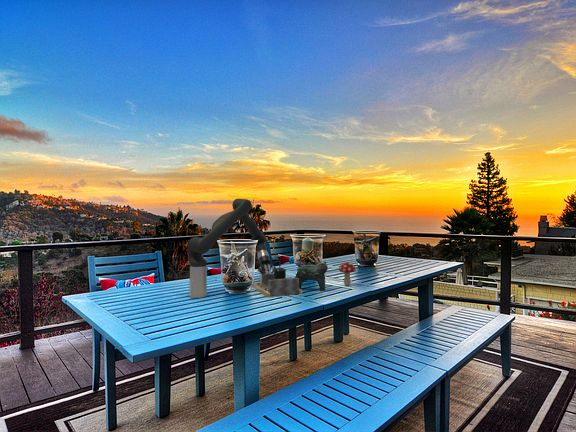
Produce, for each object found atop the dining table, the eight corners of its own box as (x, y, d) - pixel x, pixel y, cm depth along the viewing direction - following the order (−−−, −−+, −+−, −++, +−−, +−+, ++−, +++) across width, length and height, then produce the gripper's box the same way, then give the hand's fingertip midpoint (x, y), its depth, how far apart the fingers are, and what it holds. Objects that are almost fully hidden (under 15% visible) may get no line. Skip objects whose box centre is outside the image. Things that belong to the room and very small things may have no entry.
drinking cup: (281, 294, 198) (281, 260, 197) (270, 292, 202) (270, 259, 201) (288, 291, 204) (288, 258, 204) (277, 290, 208) (278, 257, 208)
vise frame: (266, 297, 191) (266, 281, 191) (251, 286, 220) (251, 272, 220) (302, 293, 200) (302, 278, 199) (282, 283, 228) (282, 269, 228)
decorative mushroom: (359, 286, 220) (359, 263, 220) (347, 288, 213) (347, 264, 213) (347, 283, 229) (347, 260, 229) (335, 285, 223) (335, 262, 222)
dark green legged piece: (327, 289, 211) (327, 257, 211) (327, 291, 205) (327, 258, 204) (295, 288, 213) (295, 256, 213) (294, 291, 207) (294, 258, 206)
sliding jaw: (261, 289, 209) (261, 274, 209) (260, 288, 212) (260, 273, 212) (285, 287, 215) (285, 272, 215) (283, 286, 218) (284, 272, 218)
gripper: (255, 255, 225) (261, 277, 213) (274, 254, 230) (281, 275, 219) (253, 262, 230) (258, 283, 218) (271, 261, 235) (278, 282, 224)
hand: (270, 279), depth 219 cm, fingers closed
